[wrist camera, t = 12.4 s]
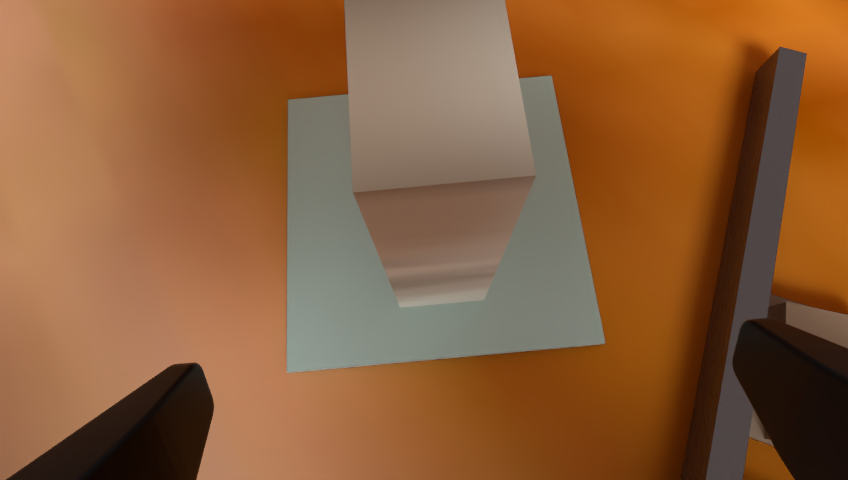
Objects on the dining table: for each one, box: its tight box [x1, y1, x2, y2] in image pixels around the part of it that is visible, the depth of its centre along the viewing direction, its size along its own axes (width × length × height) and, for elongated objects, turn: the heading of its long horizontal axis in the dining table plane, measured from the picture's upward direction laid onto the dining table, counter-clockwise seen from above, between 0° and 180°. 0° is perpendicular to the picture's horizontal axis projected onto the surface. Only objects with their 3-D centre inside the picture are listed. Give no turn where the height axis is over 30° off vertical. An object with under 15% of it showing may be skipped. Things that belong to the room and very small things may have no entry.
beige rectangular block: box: [344, 0, 536, 308], centre depth 14 cm, size 7×3×10 cm, turn 5°
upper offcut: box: [764, 302, 848, 440], centre depth 16 cm, size 4×3×1 cm
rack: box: [681, 47, 807, 480], centre depth 17 cm, size 18×7×2 cm, turn 160°
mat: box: [287, 75, 605, 373], centre depth 19 cm, size 11×11×1 cm
